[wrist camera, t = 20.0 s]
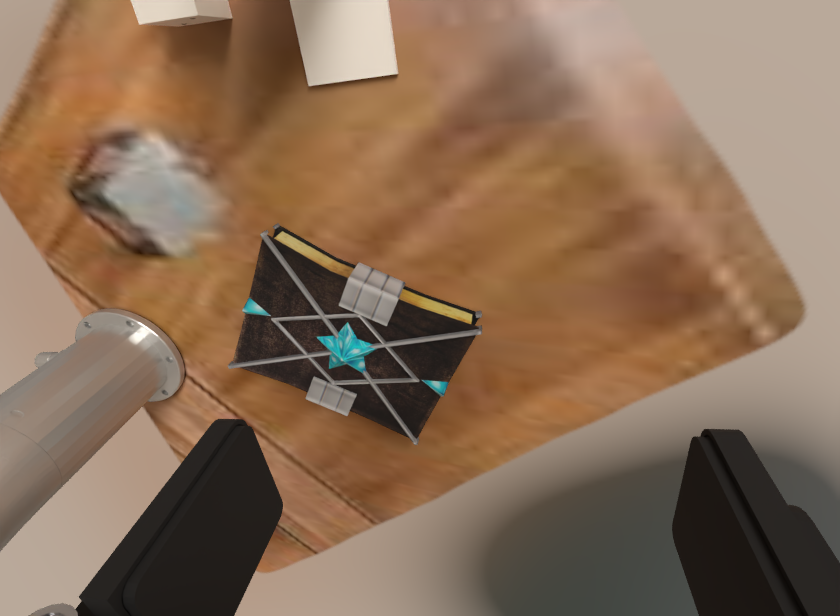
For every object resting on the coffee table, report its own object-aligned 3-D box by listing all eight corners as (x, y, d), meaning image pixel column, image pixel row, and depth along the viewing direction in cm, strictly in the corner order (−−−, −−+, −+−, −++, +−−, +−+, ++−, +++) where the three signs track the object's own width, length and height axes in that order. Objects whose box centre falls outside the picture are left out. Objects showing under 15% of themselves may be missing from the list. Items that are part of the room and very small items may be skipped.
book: (243, 349, 50) (219, 377, 46) (274, 216, 42) (248, 236, 37) (422, 424, 52) (414, 458, 48) (488, 310, 43) (486, 340, 39)
